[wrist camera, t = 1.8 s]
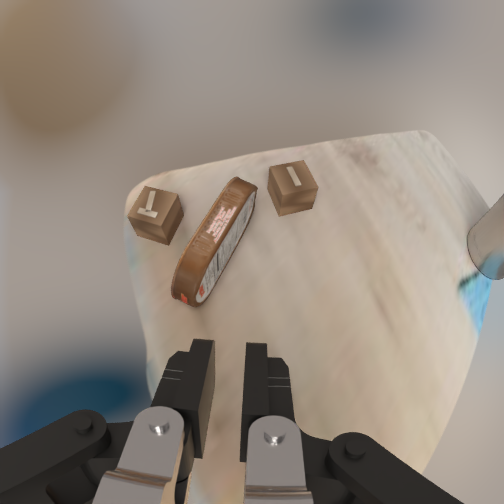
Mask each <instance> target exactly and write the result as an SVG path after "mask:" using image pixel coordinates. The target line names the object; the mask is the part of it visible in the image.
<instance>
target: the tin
mask: <svg viewBox="0 0 504 504" xmlns="http://www.w3.org/2000/svg"><path fill="white" fill-rule="evenodd" d="M257 189H258V188H257V187H256V186H255V185H253V184H251V183H249V182H246V181H244V180H242V179H240V178H239V177H234V178H233V179H231V180H230V181H229V182H228V184H227V185H226V186H225V188H224V189H223V191H222V192H221V194H220V195H219V197H218V198H217V200H216V201H215V203H214V204H213V206H212V207H211V209H210V210H209V212H208V213H207V215H206V217H205V218H204V220H203V221H202V223H201V224H200V226H199V227H198V229H197V230H196V232H195V234H194V235H193V237H192V238H191V240H190V241H189V243H188V245H187V246H186V248H185V250H184V252H183V254H182V256H181V258H180V260H179V262H178V265H177V268H176V270H175V273H174V276H173V280H172V286H171V294H172V297H173V298H174V299H178V300H180V301H182V302H184V303H186V304H188V305H191V306H193V307H197V306H200V305H201V304H202V303H203V302H204V301H205V300H206V298H207V297H208V296H209V294H210V293H211V291H212V289H213V288H214V286H215V284H216V282H217V280H218V279H219V277H220V275H221V274H222V272H223V270H224V268H225V267H226V265H227V263H228V261H229V259H230V258H231V256H232V254H233V252H234V250H235V249H236V247H237V245H238V243H239V241H240V239H241V238H242V236H243V234H244V232H245V230H246V227H247V225H248V223H249V221H250V218H251V216H252V213H253V210H254V206H255V198H256V192H257Z"/></svg>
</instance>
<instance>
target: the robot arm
mask: <svg viewBox="0 0 504 504" xmlns="http://www.w3.org/2000/svg"><path fill="white" fill-rule="evenodd" d="M468 249H469V253H470V256H471V258H472V260H473V262H474V263H475V265H476V266H477V268H478V269H479V270H480V271H481V272H482V273H483V274H484V275H485V276H487V277H489V278H490V279H494V280H499V279H502V278H504V194H503V195H502V197H501V198H500V199H499V200H498V201H497V202H496V203H495V204H494V205H493V207H492V208H491V209H490V210H489V211H488V212H487V213H486V214H485V215H484V216H483V217H482V218H481V219H480V221H479V222H478V223H477V224H476V225H475V226H474V227H473V228H472V229H471V230H470V232H469V234H468ZM289 378H290V377H289V368H288V366H287V365H286V363H285V362H284V361H283V359H282V358H272V357H267V343H248V342H246V356H245V372H244V388H243V404H242V422H241V444H240V462H246V475H245V489H244V504H464V503H462V502H460V501H459V500H457V499H456V498H454V497H453V496H451V495H450V494H448V493H447V492H445V491H444V490H442V489H441V488H440V487H438V486H437V485H435V484H434V483H432V482H431V481H429V480H428V479H426V478H425V477H424V476H422V475H421V474H419V473H418V472H417V471H415V470H414V469H412V468H411V467H410V466H408V465H407V464H405V463H404V462H403V461H401V460H400V459H399V458H397V457H396V456H394V455H393V454H392V453H390V452H389V451H388V450H386V449H385V448H384V447H382V446H381V445H380V444H378V443H377V442H376V441H374V440H373V439H372V438H370V437H369V436H367V435H365V434H361V433H356V432H349V433H344V434H341V435H339V436H337V437H336V438H334V439H333V441H328V440H324V439H319V438H315V437H312V436H309V435H308V434H306V433H304V432H303V431H302V430H301V429H300V428H299V427H298V426H297V424H296V422H295V418H294V410H293V401H292V393H291V385H290V379H289ZM214 387H215V341H214V340H204V339H193V342H192V345H191V348H190V351H189V352H183V351H178V352H176V353H175V354H174V355H173V356H172V357H171V358H169V360H168V363H167V365H166V368H165V370H164V373H163V375H162V379H161V381H160V383H159V386H158V388H157V391H156V393H155V396H154V399H153V401H152V404H151V407H150V408H147V409H145V410H143V411H141V412H140V413H139V414H138V416H136V418H135V420H134V421H130V422H123V423H106V420H105V419H104V417H103V416H102V415H101V414H99V413H98V412H95V411H92V410H79V411H75V412H72V413H71V414H69V415H67V416H65V417H63V418H61V419H59V420H57V421H55V422H53V423H51V424H49V425H47V426H45V427H43V428H41V429H39V430H38V431H35V432H33V433H31V434H29V435H27V436H25V437H23V438H21V439H19V440H18V441H15V442H13V443H11V444H9V445H7V446H5V447H3V448H1V449H0V504H187V501H188V495H189V489H190V483H191V475H192V474H191V471H192V466H193V461H194V458H201V459H203V453H204V447H205V441H206V435H207V429H208V423H209V417H210V411H211V405H212V399H213V394H214Z"/></svg>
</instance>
